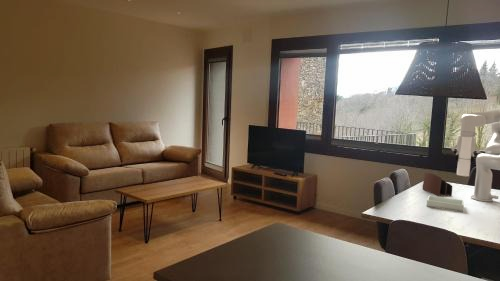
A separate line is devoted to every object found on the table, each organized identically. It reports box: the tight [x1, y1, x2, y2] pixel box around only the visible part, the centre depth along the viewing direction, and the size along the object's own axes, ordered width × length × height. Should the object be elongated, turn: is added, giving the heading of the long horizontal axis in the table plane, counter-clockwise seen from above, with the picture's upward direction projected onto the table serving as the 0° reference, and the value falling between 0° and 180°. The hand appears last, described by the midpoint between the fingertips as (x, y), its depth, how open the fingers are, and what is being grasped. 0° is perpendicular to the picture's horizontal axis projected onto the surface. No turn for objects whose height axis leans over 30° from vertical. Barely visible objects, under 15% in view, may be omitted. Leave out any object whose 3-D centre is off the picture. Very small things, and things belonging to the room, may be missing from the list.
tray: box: [426, 195, 465, 213], centre depth 236 cm, size 20×14×4 cm
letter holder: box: [422, 172, 453, 197], centre depth 271 cm, size 10×20×14 cm, turn 8°
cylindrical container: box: [456, 137, 472, 177], centre depth 241 cm, size 7×7×25 cm
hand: (464, 161), depth 241 cm, fingers closed on cylindrical container, 7 cm apart
